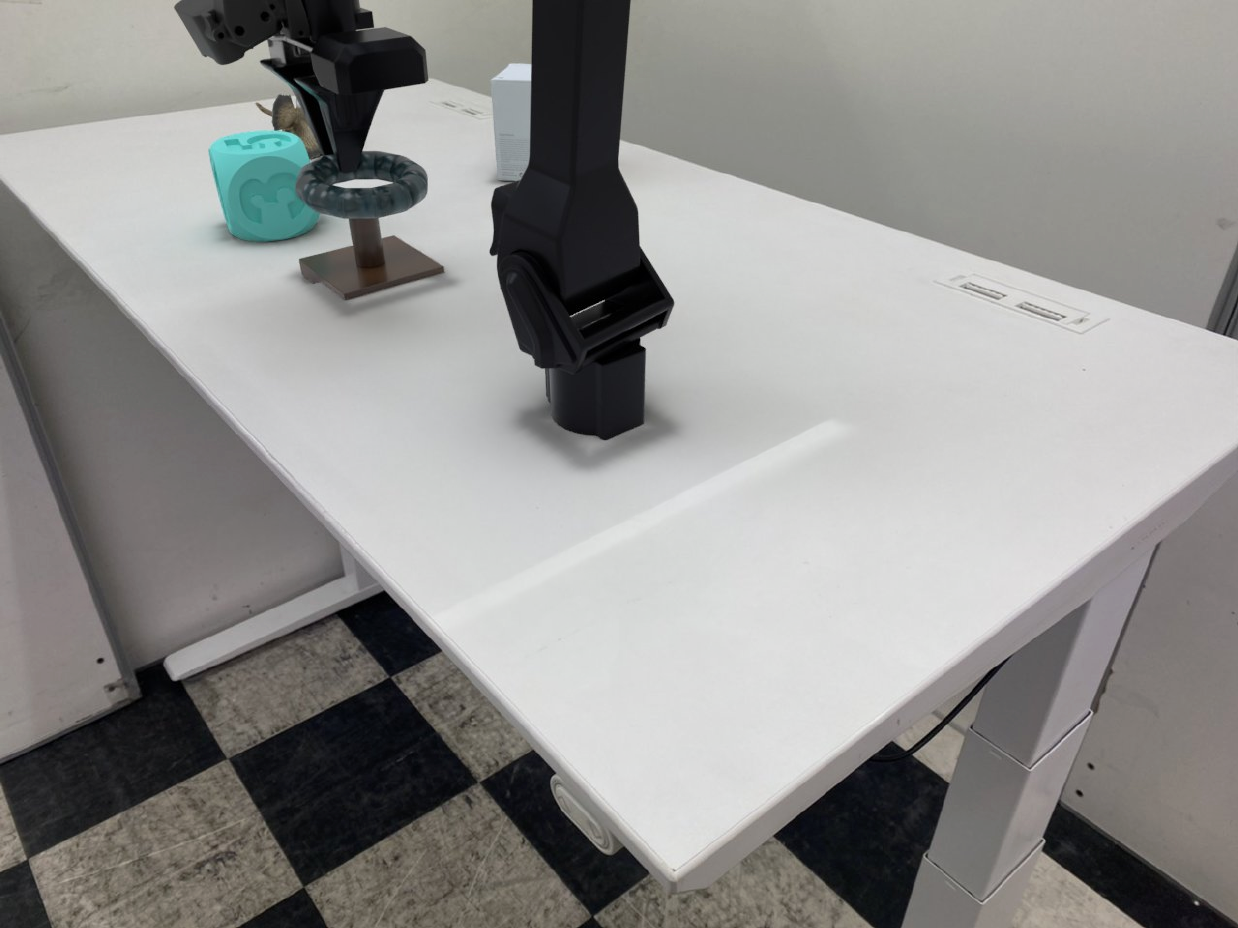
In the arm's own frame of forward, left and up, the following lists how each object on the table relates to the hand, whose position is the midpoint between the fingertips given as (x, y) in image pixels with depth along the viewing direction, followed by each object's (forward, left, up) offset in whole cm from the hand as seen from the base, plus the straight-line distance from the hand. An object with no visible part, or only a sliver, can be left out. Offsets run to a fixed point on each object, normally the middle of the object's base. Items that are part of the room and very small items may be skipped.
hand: (341, 168), depth 68 cm
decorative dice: (+22, -1, -12) cm, 25 cm away
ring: (-4, 0, 0) cm, 4 cm away
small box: (+21, -30, -12) cm, 39 cm away
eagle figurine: (+45, -13, -12) cm, 49 cm away
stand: (+5, -3, -11) cm, 13 cm away
